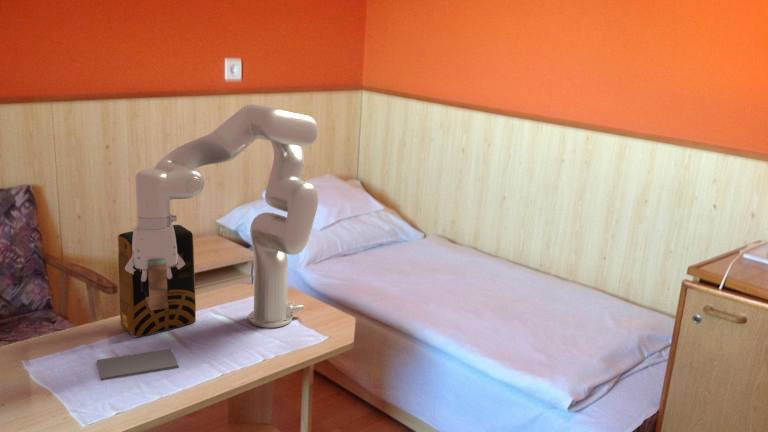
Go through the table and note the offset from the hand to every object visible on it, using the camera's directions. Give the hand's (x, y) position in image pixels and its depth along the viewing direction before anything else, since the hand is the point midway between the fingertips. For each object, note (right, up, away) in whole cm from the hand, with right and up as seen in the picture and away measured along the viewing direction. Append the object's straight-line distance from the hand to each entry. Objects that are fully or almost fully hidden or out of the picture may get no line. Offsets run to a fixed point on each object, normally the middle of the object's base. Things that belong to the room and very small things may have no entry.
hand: (156, 293), depth 177 cm
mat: (-5, -18, +3) cm, 19 cm away
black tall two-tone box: (-7, -12, +26) cm, 29 cm away
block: (0, -3, +1) cm, 3 cm away
